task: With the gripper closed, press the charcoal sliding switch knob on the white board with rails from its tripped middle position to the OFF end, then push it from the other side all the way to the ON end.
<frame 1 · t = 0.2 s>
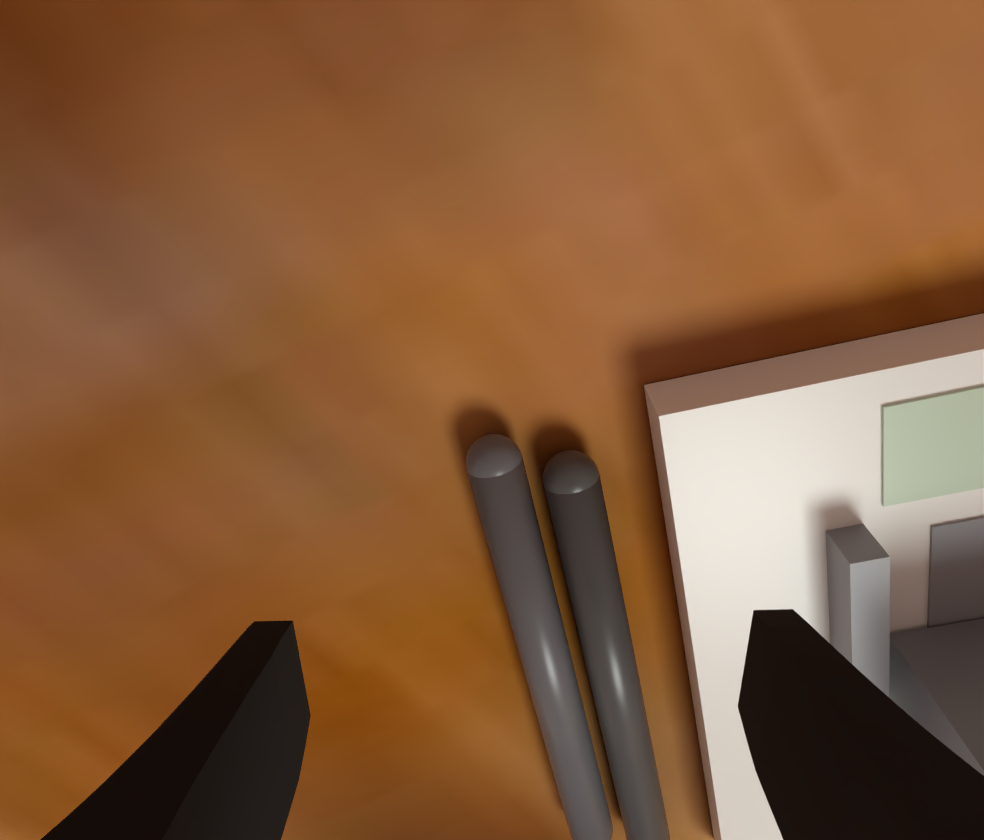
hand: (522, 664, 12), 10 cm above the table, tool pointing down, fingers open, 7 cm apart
white board with rails: (930, 608, 24), on the table
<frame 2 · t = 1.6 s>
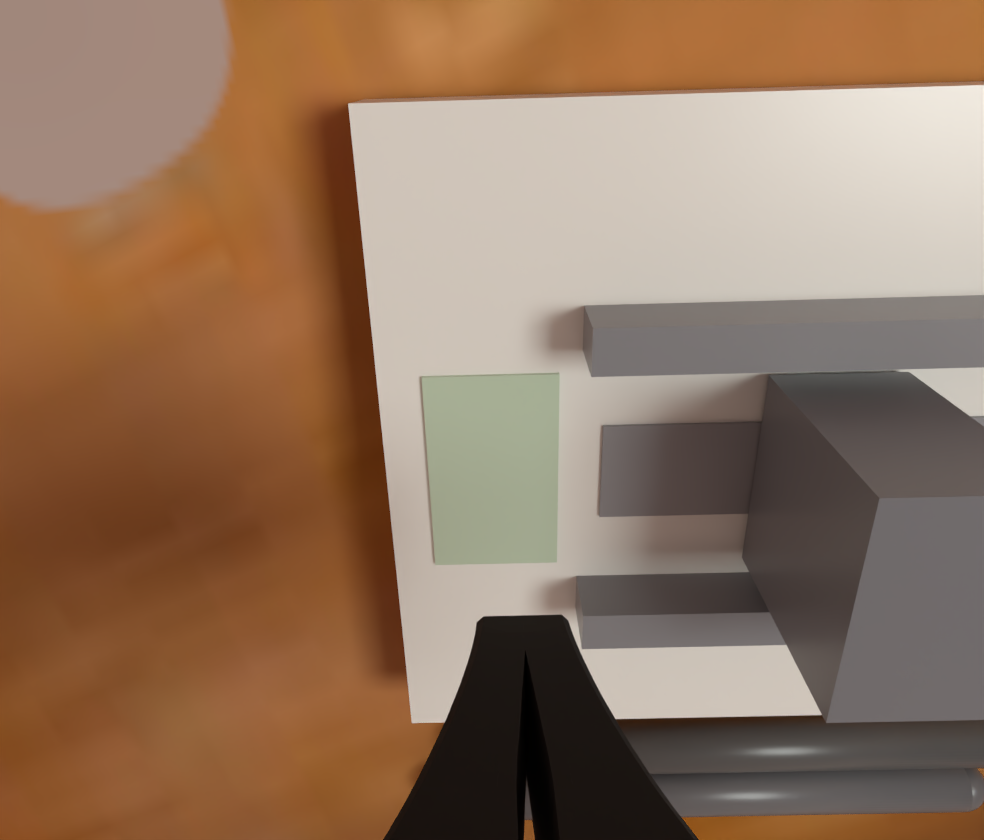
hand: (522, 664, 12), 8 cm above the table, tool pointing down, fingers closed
white board with rails: (785, 427, 19), on the table
switch knob: (870, 532, 15), point 5 cm above the table, slide at 0.0 cm
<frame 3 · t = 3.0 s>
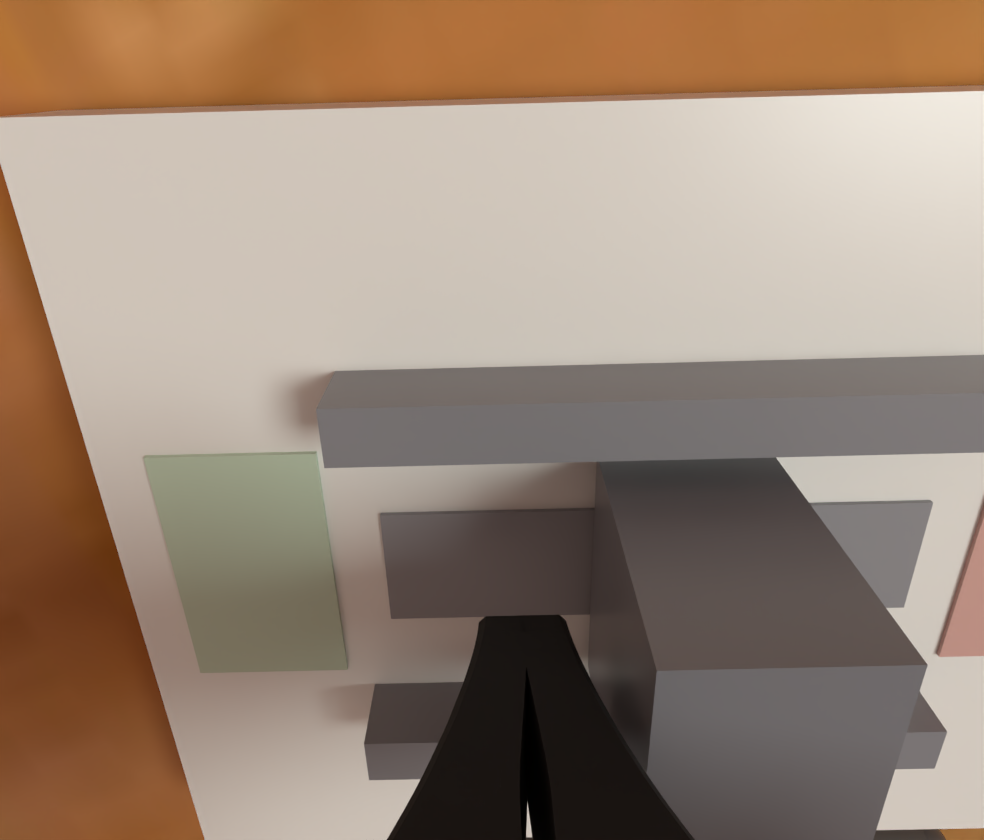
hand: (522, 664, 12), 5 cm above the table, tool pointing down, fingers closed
white board with rails: (631, 503, 16), on the table
switch knob: (708, 664, 11), point 5 cm above the table, slide at -0.4 cm, touching gripper
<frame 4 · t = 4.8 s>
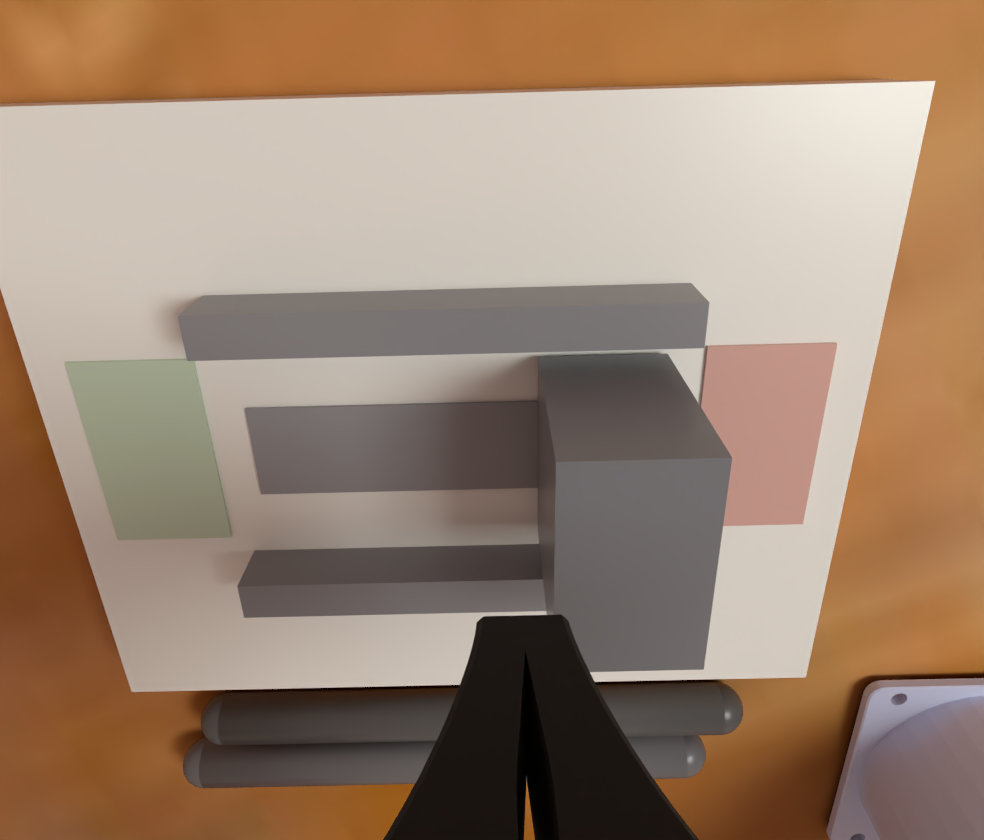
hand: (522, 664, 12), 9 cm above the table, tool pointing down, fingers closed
white board with rails: (457, 411, 20), on the table
switch knob: (614, 501, 16), point 5 cm above the table, slide at -3.6 cm
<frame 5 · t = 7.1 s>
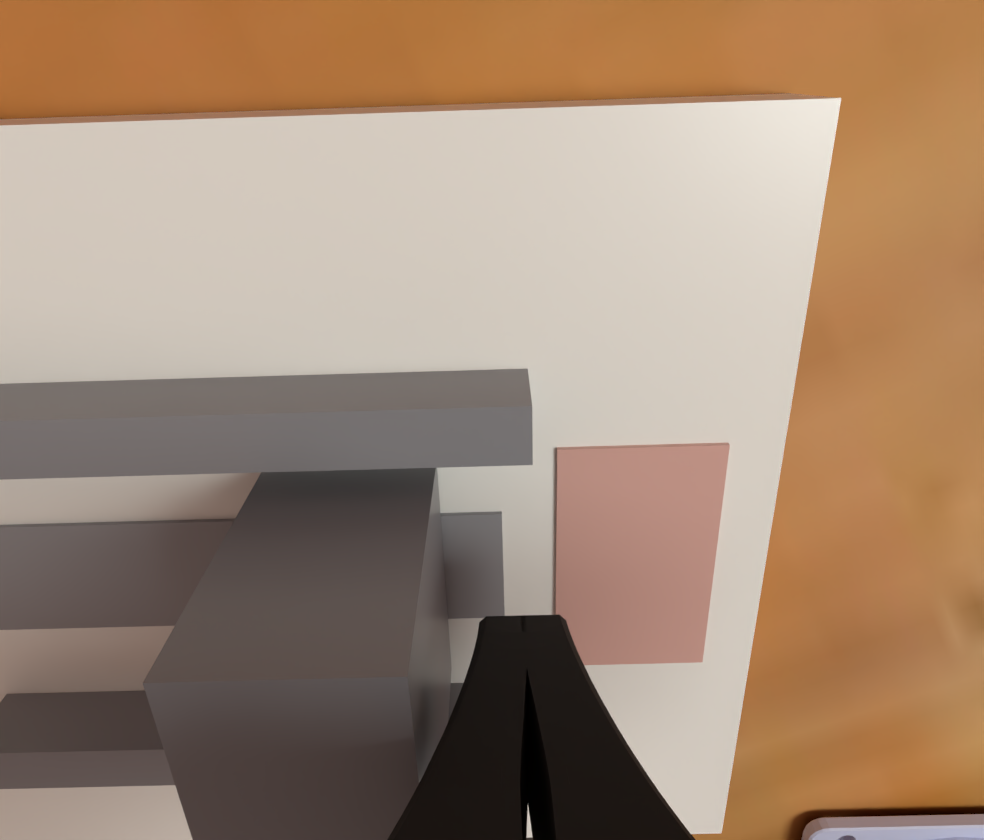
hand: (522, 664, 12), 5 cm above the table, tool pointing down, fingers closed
white board with rails: (270, 513, 16), on the table
switch knob: (340, 673, 12), point 5 cm above the table, slide at -2.4 cm, touching gripper
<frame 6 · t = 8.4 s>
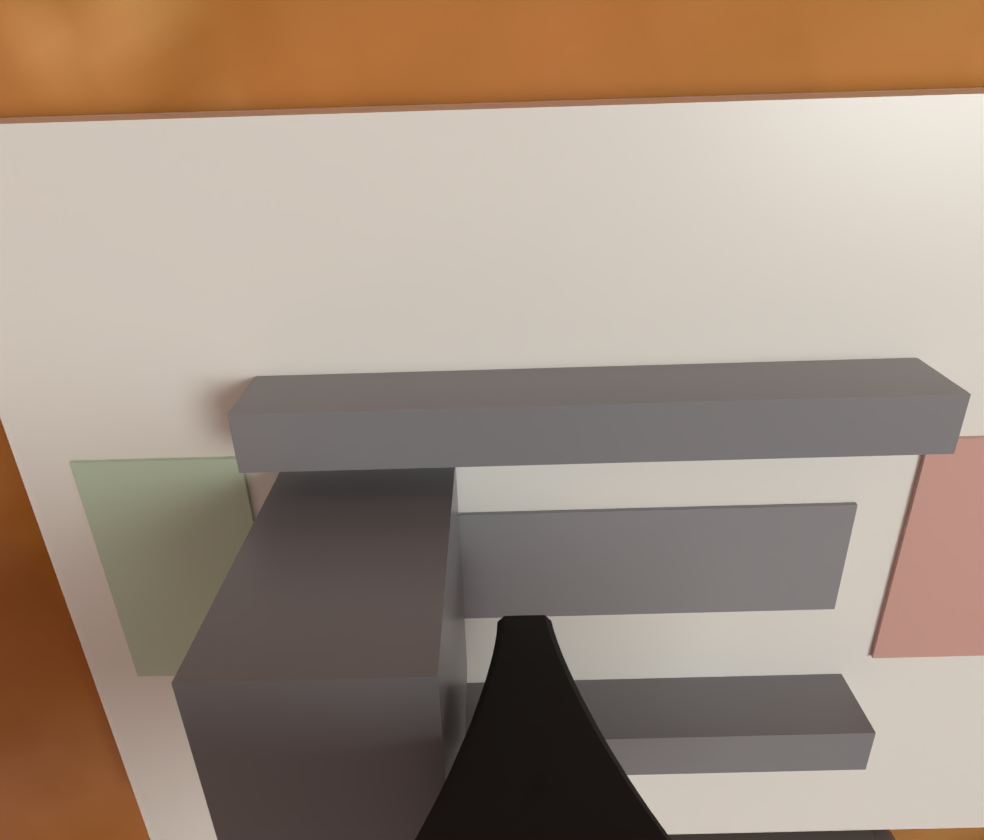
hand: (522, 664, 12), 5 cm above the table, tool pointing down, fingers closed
white board with rails: (569, 505, 16), on the table
switch knob: (361, 673, 12), point 5 cm above the table, slide at 3.7 cm, touching gripper
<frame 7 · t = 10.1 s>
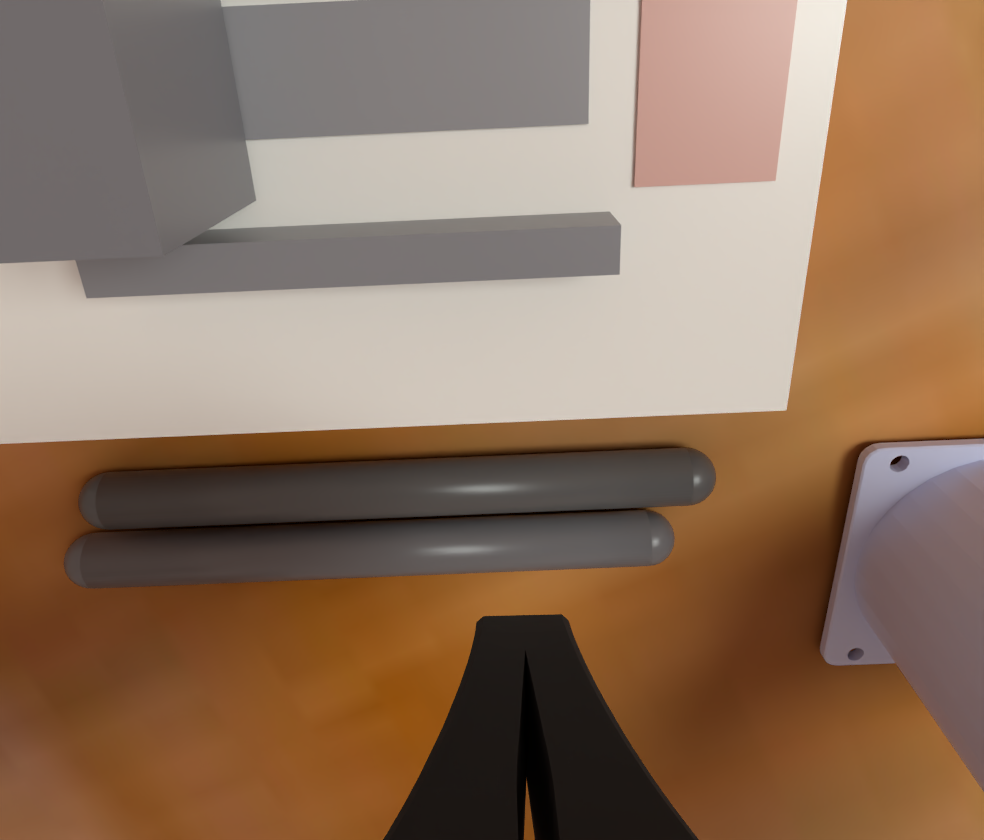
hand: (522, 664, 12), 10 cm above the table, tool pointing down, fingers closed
white board with rails: (354, 69, 16), on the table
switch knob: (99, 82, 12), point 5 cm above the table, slide at 3.6 cm
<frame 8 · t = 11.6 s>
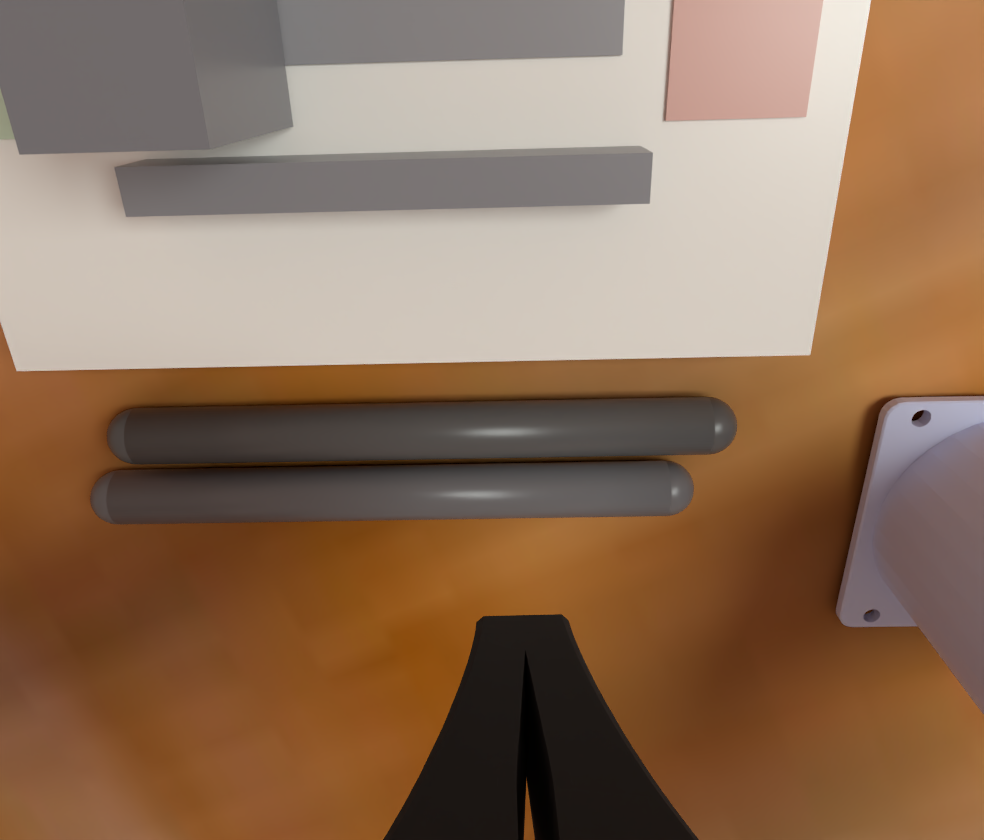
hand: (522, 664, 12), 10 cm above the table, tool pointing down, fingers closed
white board with rails: (392, 4, 17), on the table
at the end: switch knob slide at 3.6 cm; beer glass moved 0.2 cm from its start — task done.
